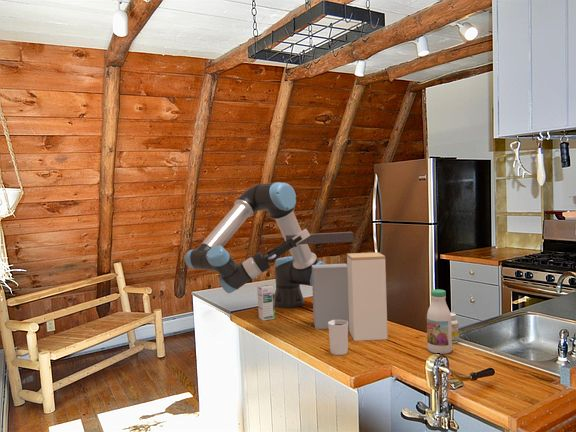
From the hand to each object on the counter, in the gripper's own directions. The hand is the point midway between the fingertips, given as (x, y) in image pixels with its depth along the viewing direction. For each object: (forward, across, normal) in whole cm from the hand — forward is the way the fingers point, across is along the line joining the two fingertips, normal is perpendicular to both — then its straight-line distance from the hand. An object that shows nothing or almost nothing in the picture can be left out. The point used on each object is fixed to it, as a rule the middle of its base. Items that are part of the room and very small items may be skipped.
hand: (307, 231), depth 174 cm
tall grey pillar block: (-12, -6, -38) cm, 40 cm away
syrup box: (-35, -20, -25) cm, 47 cm away
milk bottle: (+15, +29, -54) cm, 62 cm away
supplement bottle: (+21, +20, -57) cm, 64 cm away
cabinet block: (-2, +10, -43) cm, 44 cm away
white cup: (-14, +25, -37) cm, 47 cm away
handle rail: (+1, 0, -6) cm, 6 cm away
